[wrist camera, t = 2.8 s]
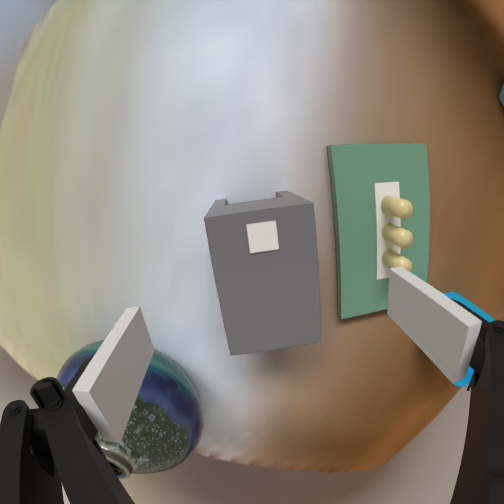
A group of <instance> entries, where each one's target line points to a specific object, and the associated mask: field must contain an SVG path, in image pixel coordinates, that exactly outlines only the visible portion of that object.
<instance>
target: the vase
mask: <svg viewBox="0 0 504 504" xmlns="http://www.w3.org/2000/svg"><path fill="white" fill-rule="evenodd" d="M103 342H104V340H102V341H98V342H94V343H91V344H89V345H86V346H85V347H83V348H81V349H80V350H78V351H77V352H75V353H74V354H73V355H72V356H71V357H70V358H69V359H68V360H67V361H66V362H65V363H64V365H63V366H62V368H61V370H60V372H59V374H58V376H57V380H58V381H59V383H60V385H61V387H62V388H63V390H65V388H66V387H67V385H68V384H69V382H70V381H71V379H72V378H73V377H74V375H75V373H76V372H77V371H78V369H79V367H80V366H81V364H82V363H83V362H84V361H85V360H87V359H88V358H89V357H94V355H95V354H96V352H97V351H98V349H99V348H100V346H101V345H102V343H103ZM202 430H203V410H202V407H201V403H200V399H199V395H198V393H197V391H196V389H195V387H194V385H193V384H192V382H191V380H190V379H189V378H188V376H187V375H186V374H185V372H184V371H183V370H182V369H181V368H180V367H179V366H178V365H177V364H176V363H175V362H174V361H172V360H171V359H170V358H169V357H167V356H166V355H164V354H163V353H161V352H160V351H158V350H156V349H154V353H153V356H152V358H151V361H150V364H149V366H148V369H147V371H146V374H145V377H144V379H143V382H142V384H141V387H140V390H139V392H138V395H137V398H136V401H135V403H134V406H133V409H132V412H131V415H130V417H129V420H128V423H127V426H126V429H125V432H124V435H123V438H122V441H121V443H119V442H110V441H104V440H103V438H102V437H101V435H100V434H99V433H98V432H97V435H96V437H95V439H96V441H97V442H98V443H99V445H100V447H101V449H102V451H103V453H104V455H105V456H106V458H107V460H108V462H109V464H110V465H111V467H112V469H113V470H114V472H115V474H116V475H117V477H118V479H125V478H128V477H129V476H130V474H131V473H133V474H148V473H157V472H163V471H166V470H169V469H172V468H175V467H176V466H178V465H180V464H181V463H183V462H184V461H185V460H186V459H188V457H190V456H191V454H192V453H193V452H194V451H195V449H196V447H197V446H198V444H199V441H200V439H201V435H202Z"/></svg>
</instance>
